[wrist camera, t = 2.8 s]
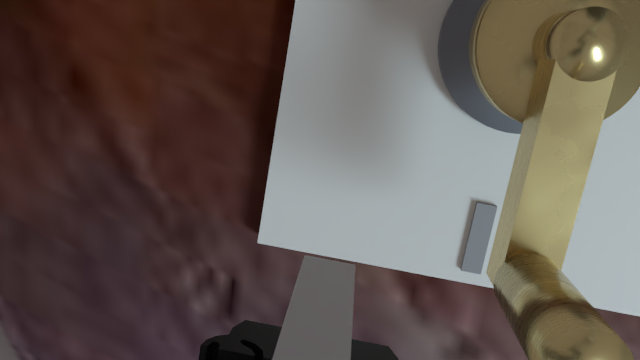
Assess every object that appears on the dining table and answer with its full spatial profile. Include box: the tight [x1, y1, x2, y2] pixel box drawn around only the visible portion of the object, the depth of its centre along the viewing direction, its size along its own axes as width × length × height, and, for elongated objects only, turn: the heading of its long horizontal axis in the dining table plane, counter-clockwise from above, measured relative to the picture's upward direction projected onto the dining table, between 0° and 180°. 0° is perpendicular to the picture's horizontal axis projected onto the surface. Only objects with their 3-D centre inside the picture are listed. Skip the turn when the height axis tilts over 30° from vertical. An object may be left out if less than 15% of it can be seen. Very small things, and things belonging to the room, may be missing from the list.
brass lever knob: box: [469, 0, 640, 360], centre depth 20 cm, size 13×6×11 cm, turn 170°
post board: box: [257, 0, 640, 316], centre depth 27 cm, size 24×22×5 cm
